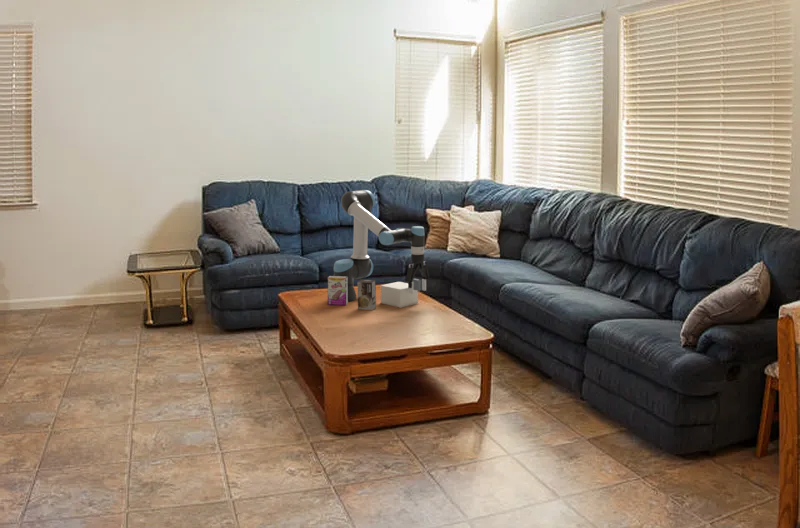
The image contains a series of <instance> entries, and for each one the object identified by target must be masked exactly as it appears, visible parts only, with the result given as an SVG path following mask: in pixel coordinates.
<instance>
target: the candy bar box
mask: <svg viewBox="0 0 800 528" xmlns="http://www.w3.org/2000/svg"><path fill="white" fill-rule="evenodd" d="M348 303H349V301H348V277H342V276H334V275H329V276H327V305H328V306H347V305H348Z"/></svg>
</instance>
